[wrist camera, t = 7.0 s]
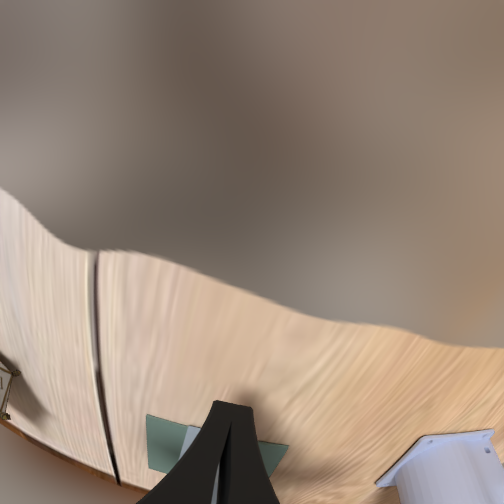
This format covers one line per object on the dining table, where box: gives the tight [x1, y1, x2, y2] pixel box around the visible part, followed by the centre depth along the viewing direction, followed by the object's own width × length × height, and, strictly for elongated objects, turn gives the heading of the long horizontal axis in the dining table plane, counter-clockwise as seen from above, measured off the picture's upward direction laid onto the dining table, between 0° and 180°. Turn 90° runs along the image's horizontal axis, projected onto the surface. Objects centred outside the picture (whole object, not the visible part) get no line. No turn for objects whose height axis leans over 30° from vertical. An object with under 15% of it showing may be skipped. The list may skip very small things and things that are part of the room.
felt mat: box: [146, 414, 288, 477], centre depth 20 cm, size 10×9×1 cm
